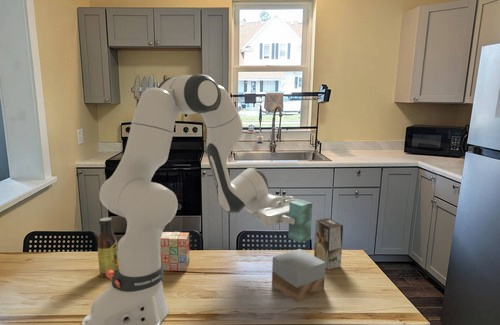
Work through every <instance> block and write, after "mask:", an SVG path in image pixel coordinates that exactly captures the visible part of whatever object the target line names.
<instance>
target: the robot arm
mask: <svg viewBox="0 0 500 325" xmlns="http://www.w3.org/2000/svg"><path fill="white" fill-rule="evenodd" d="M180 114H184V115H194V114H199V115H201V117H202V119H203V122H204V124H205V126H206V129H207V133H208V143H207V147H206V156H207V159H208V164H209V168H210V170H211V173H212V174H211V175H212V177H213V180H214V184H215V188H216V194H217V200H218V203H219V205H220V206H221V208H222V209H223V210H224V211H225V212H226V213H230V214H238V213H241V211H242V210H243V209H244V210H245V211H248V213H250V214H252V217H253V218H255V219H256V220H257V221H258V222H259V223H261V224H262V225H263V226H265V227H273V226H276V225H279V224H289V223H290V224H296V223H297V219H296V218H294V217H289V206H290V202H291V201H296V200H299V199H298V198H294V196H291V195H274V194H273V193H272V194H271V193H269V191H270V189H269V182H268V179H267V177H266V175H265V173H263V172H262V171H261V170H259V169H257V168H254V167H247V169H245V170H243V171H242V172H241V173H240V174H239V175H238V174H237V176H236V177H235V178H233V179H232V180H231V178H230V174H229V170H228V167H227V162H228V158H229V156H230V155H231V153H232V151H233V149H234V148H235V147H236V145H237V144H238V142H239V141H240V139H241V137H242V135H243V122H242V119H241V116H240V114H239V111H238V109H237V107H236V104H235V103H234V101H233V99H232V97H231V96H230V94H229V93H228V91H227V90H226V89H225V87H223V86H222V85H220V84H218V83H217V82H216V81H215V80H214V78H212V76H211V77H210V76H209V75H206V74H202V73H201V74H200V73H199V74H198V73H197V74H181V75H177V76H174V77H168V78H166V79H164V80H162V82H161V83H160V84H159V85H158V86H157V87H151V88H148V89H145V90H144V91H143V92H142V93H141V95H140V97H139V99H138V102H137V104H136V107H135V109H134V113H133V117H132V121H131V125H130V129H129V132H128V133H129V134H128V137H127V141H126V145H125V149H124V152H123V155H122V157H121V160H120V161H119V163H118V165H117V167H116V169H115V171H114V172H113V173H112V175H111V176H110V177H109V178H108V179H106V180H104V182H103V183H102V185H101V187H100V188H99V192H98V196H99V200H100V202H101V204H102V205H103V206H104V208H105V209H107V210H108V211H109V212H110V213H112V214H114V215H117V216H120V217H123V218H125V220H126V225H127V226H126V229H125V230H126V231H125V234H124V235H123V236H122V237H120V239H119V241H117V249H118V265H119V268H118V270H117V272H116V273H114V271H113V270H108V271H107V273H106V276H107V277H106V278H108V280H111V284H110V285H109V286H108V287H107V288H105V290H104V291H102V293H100V295H98V296H97V297H96V298H95V299H94V300H93V302H92V304H91V308H90V314H88V315H85V317H83V320H82V322H81V325H161V323H162V322H163V321H164V320H165V319H166V317H167V315H168V313H169V306H168V303H167V300H166V297H165V293H164V288H163V287H164V286H163V282H164V270H163V267H162V263H161V236H162V232H164V229H165V226H167V225H168V224H169V223H171V221H172V220H173V219H174V217H176V214H177V210H178V203H179V202H178V198H177V195H176V194H175V192H174V191H173V190H171V189H169V188H168V187H166V186H164V185H163V184H161V183H158V182H153V181H152V178H153V177H154V175H155V172H156V171H157V170H158V169H159V168H160V167H161V166H163V165H165V163H166V162H167V161H168V158H169V154H170V149H171V144H172V141H173V135H174V130H175V129H174V128H175V126H176V125H175V123H176V119H178V116H179V115H180Z"/></svg>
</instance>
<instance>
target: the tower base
mask: <svg viewBox="0 0 500 325" xmlns="http://www.w3.org/2000/svg"><path fill="white" fill-rule="evenodd" d="M325 278H326V276H325V277H323V278H321V279H318V280H316V281H313V282H311V283H308V284H305V285H303V286H300V287H298V288H296V287H295V286H293V285H292V284H290V283H289V282H287V281H286V280H284V279H283V278H281V277H280V276H279V275H277V274H276V273H274V272H273V271H272V273H271V285H272V287H274V288H275V289H278V290H279V291H281V292H282V293H284V294H285V295H287V296H289V297H290V298H292V299H293V300H295V301H296V302H297V303H298V302H301V301H303V300H305V299H307V298H309V297H310V296H313V295H315V294H317V293H318V292H321V291H323V290H324V289H325Z"/></svg>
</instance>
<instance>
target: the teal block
mask: <svg viewBox="0 0 500 325" xmlns="http://www.w3.org/2000/svg"><path fill="white" fill-rule="evenodd" d="M312 213H313V202H310V201H307V200H304V199H301V198H300V199H298V200H296V201H291V202H290V206H289V217H294V218H296V219H297V223H296V224H290V223H288V234H287V236H288V239H290V240H292V241H295V242H297V243H300V244H301V243H304V242H306V241H307V242H308V241H310V240H311V238H312V215H313V214H312Z"/></svg>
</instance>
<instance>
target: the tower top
mask: <svg viewBox="0 0 500 325" xmlns="http://www.w3.org/2000/svg"><path fill="white" fill-rule="evenodd" d="M325 265H326V262H324V261H322V260H320V259H318V258H317V257H315V256H314V254H311V253H309V252H307V251H305V250H304V249H301V248H298V249H294V250H292V251H289V252H288V251H287V252H286V253H282V254H278V255H275V256H273V257H272V266H271V267H272V269H271V271H272V272H274V273H276V274H277V275H279V276H280V277H281V278H283V279H284V280H286V281H287V282H289V283H290V284H292V285H293V286H295V287H296V288H298V287H300V286H303V285H305V284H308V283H311V282H313V281H316V280H318V279H321V278H323V277H325V278H326V268H325Z"/></svg>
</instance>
